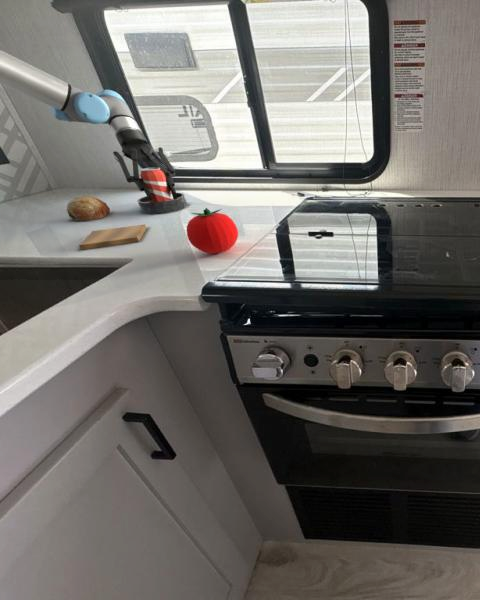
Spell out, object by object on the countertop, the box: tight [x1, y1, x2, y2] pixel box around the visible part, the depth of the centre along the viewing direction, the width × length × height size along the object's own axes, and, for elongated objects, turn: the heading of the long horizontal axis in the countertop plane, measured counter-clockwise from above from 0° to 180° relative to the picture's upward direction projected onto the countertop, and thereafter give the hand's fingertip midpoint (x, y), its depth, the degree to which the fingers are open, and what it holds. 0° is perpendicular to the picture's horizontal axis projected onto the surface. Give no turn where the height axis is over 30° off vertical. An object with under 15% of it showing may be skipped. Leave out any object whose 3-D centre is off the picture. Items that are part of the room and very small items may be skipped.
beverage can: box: [139, 166, 173, 202], centre depth 107 cm, size 6×6×12 cm
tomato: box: [186, 207, 239, 255], centre depth 76 cm, size 10×10×10 cm
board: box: [78, 224, 147, 250], centre depth 87 cm, size 12×11×1 cm
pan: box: [136, 192, 188, 215], centre depth 110 cm, size 13×13×4 cm
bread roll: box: [66, 195, 111, 222], centre depth 102 cm, size 10×10×8 cm
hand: (162, 195), depth 106 cm, fingers closed on beverage can, 6 cm apart
